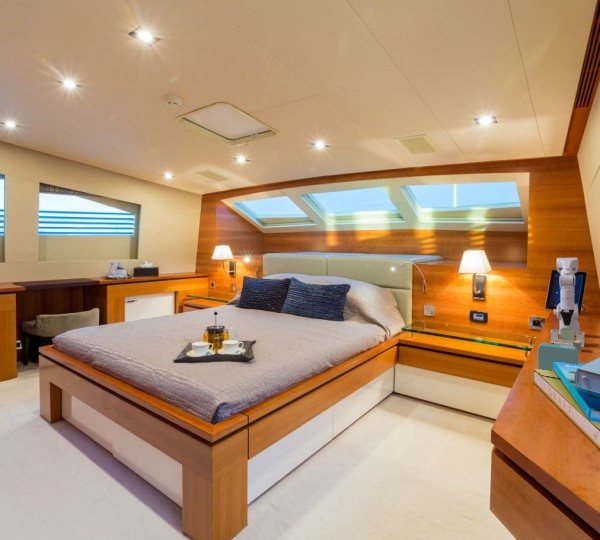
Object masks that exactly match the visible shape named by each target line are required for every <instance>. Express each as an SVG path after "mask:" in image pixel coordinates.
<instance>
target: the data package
mask: <svg viewBox="0 0 600 540" xmlns="http://www.w3.org/2000/svg"><path fill="white" fill-rule="evenodd" d="M579 353H580V352H579V351H578V349H577V348H576V347H574V346H570V345H561V344H551V343H549V342H548V343H547V342H543V343H540V344H539V346H538V347H537V370H538V369H542V370H549V371H552V370H553V362H565V363H570V364H576V365H577V364H580V363H579V362H580V361H579V359H580V358H579Z"/></svg>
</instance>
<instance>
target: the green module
mask: <svg viewBox="0 0 600 540" xmlns="http://www.w3.org/2000/svg"><path fill="white" fill-rule="evenodd" d="M559 333H560V335H559V339H560V340H569V341H575V336H574V329H571V328H561V329H560V328H559Z"/></svg>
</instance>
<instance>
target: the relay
mask: <svg viewBox="0 0 600 540" xmlns="http://www.w3.org/2000/svg"><path fill="white" fill-rule="evenodd" d="M573 346H574V347H576V348H577V349H578V351H581V352H582V348H583V347H582V342H581V341H576V340H574V342H573Z"/></svg>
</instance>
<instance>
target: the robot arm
mask: <svg viewBox="0 0 600 540" xmlns="http://www.w3.org/2000/svg"><path fill="white" fill-rule="evenodd" d="M578 269H579V258H578V257H557V258H556V271H557V273H559V274H560V276H559V279H558V280H559V289H560V295H559V296H560V299H559V301H560V302H559V303H558V304H557V306H556V318H557V319H559V330H560V329H561V328H571V329H574V337H576V333H577V332H581V323H580V321H579V320H578V319H579V307H578V305H577V304H576V303H575V286H576V275H575V274H576V273H578V271H579V270H578ZM559 336H560V332H559Z"/></svg>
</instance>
